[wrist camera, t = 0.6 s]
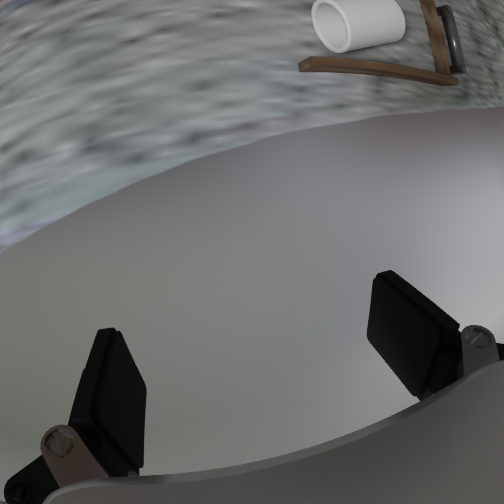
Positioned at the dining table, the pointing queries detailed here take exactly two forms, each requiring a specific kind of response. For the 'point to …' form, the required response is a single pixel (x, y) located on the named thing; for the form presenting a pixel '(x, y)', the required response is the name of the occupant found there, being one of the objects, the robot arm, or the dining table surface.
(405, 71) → the frame
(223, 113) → the dining table surface
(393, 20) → the mug
